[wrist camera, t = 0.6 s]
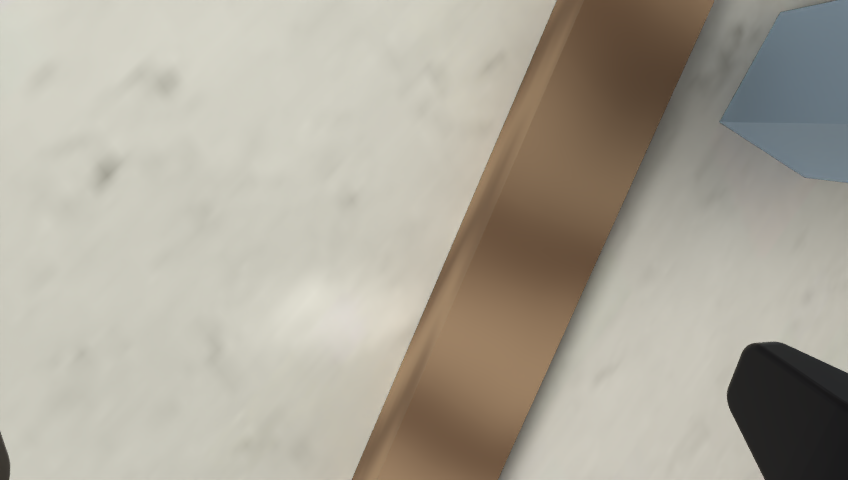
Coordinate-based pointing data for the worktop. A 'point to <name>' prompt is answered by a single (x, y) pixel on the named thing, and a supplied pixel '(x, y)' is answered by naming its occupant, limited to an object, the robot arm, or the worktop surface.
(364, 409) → the worktop surface
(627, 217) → the worktop surface
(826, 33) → the post
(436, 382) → the rail
